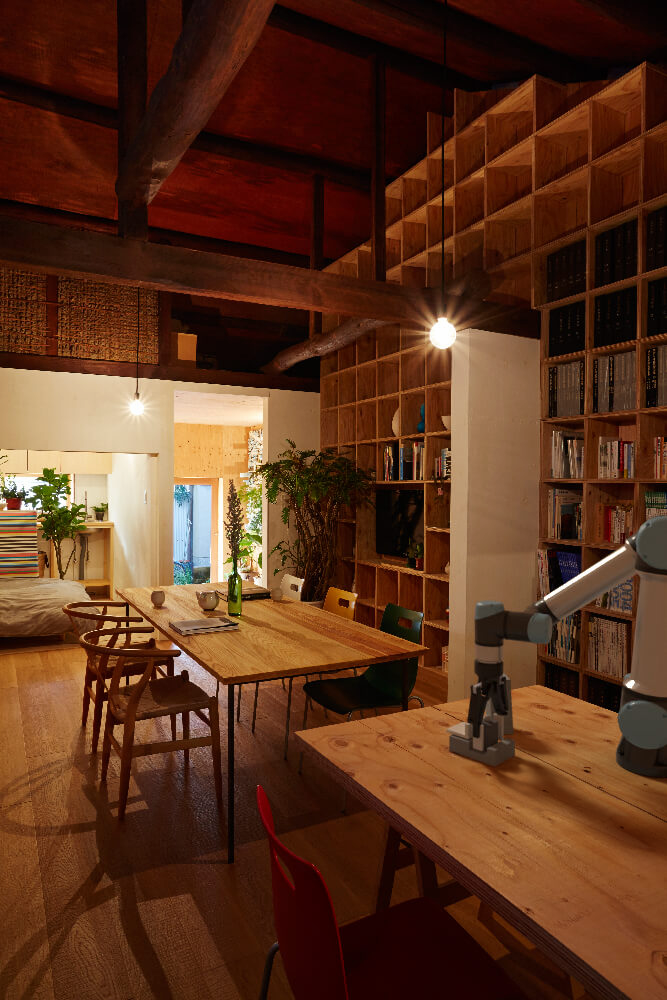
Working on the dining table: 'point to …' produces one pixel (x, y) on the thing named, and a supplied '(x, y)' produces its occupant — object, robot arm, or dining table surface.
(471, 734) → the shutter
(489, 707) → the skincare box
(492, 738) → the plug
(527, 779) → the dining table surface
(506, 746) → the socket
